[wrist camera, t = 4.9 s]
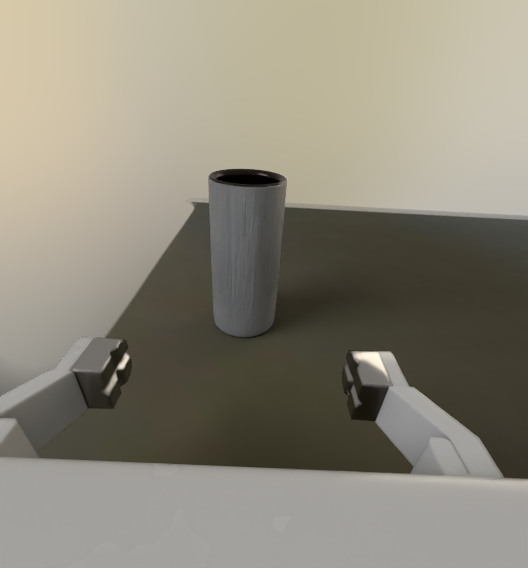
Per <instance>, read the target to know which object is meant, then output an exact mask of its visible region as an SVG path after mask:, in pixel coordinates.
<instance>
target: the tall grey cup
mask: <svg viewBox="0 0 528 568" xmlns="http://www.w3.org/2000/svg"><path fill="white" fill-rule="evenodd" d="M208 180H209V181H208V183H209V209H210V235H211V260H212V285H213V311H214V321H215V324H216V325H217V327H218V328H219V329H220V330H222V331H223V332H225V333H227V334H229V335H233V336H237V337H252V336H256V335H260V334H262V333H264V332H266V331H267V330H268V329H269V328H270V327H271V326H272V324H273V322H274V317H275V307H276V296H277V285H278V274H279V263H280V252H281V241H282V230H283V219H284V208H285V197H286V186H287V180H286V178H285V177H284V176H282V175H279V174H277V173H273V172H269V171H263V170H254V169H227V170H220V171H216V172H213V173H211V174H210V175H209V177H208Z"/></svg>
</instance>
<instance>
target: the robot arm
mask: <svg viewBox="0 0 528 568" xmlns="http://www.w3.org/2000/svg"><path fill="white" fill-rule="evenodd" d="M127 349H128V345H127V342H126V340H123V339H109V338H91V337H82V338H79V339H78V340H77V341H76V343H75V344H74V345H73V346H72V348H71V349H70V350H69V351H68V353H67V354H66V355H65V356H64V358H63V359H62V360H61V361H60V362H59V364H58V365H57V366H56V367H55V369H54V370H52V371H51V370H48V371H46V372H44V373H43V374H41V375H39V376H37V377H35V378H33V379H32V380H30V381H28V382H26V383H24V384H22V385H21V386H19V387H17V388H15V389H13V390H12V391H10V392H8V393H6V394H4V395H2V396H0V568H528V479H516V478H504V477H503V475H502V473H501V472H500V470H499V469H498V467H497V465H496V464H495V462H494V461H493V459H492V457H491V456H490V454H489V453H488V451H487V449H486V448H485V446H484V445H483V443H482V441H481V440H480V438H479V437H477V436H476V435H475V434H473V433H472V432H471V431H470V430H468V429H467V428H466V427H464V426H463V425H462V424H461V423H459V422H458V421H457V420H455V419H454V418H453V417H451V416H450V415H449V414H448V413H446V412H445V411H444V410H442V409H441V408H440V407H438V406H437V405H436V404H435V403H433V402H432V401H431V400H429V399H428V398H427V397H426V396H424V395H423V394H422V393H420V392H419V391H418V390H416V389H415V388H414V387H409V385H408V383H407V381H406V379H405V377H404V375H403V373H402V371H401V369H400V367H399V365H398V363H397V361H396V359H395V357H394V355H393V354H392V353H391V352H386V351H356V350H349V351H348V353H347V357H346V359H347V363H348V364H347V365H345V366H344V368H343V372H342V384H343V390H344V393H345V394H346V395H347V396H348V401H347V405H348V409H349V413H350V416H351V419H353V420H366V421H375V423H376V424H377V425H378V426H379V427H380V429H381V430H382V431H383V432H384V433H385V434H386V435H387V437H388V438H389V439H390V440H391V441H392V442H393V444H394V445H395V446H396V447H397V448H398V449H399V451H400V452H401V453H402V454H403V455H404V456H405V457H406V459H407V460H408V461H409V462H410V463H411V464H412V466H413V467H414V468H413V469H412V471H411V473H410V474H399V473H375V472H352V471H328V470H304V469H279V468H255V467H231V466H208V465H184V464H161V463H138V462H114V461H90V460H67V459H43V458H40V457H39V456H38V454H37V452H39V451H40V450H41V449H42V448H43V447H44V446H46V445H47V444H48V443H49V442H50V441H52V440H53V439H54V438H55V437H56V436H58V435H59V434H60V433H61V432H62V431H64V430H65V429H66V428H67V427H68V426H70V425H71V424H72V423H73V422H74V421H76V420H77V419H78V418H79V417H80V416H81V415H83V414H84V413H85V412H86V411H87V410H88V408H100V409H113V408H114V406H115V404H116V402H117V400H118V399H119V397H120V395H121V389H120V387H121V386H122V385H124V384H125V383H127V381H128V379H129V377H130V373H131V369H132V361H131V357H130V356H129V355H128V354H127V353H126V351H127Z"/></svg>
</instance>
